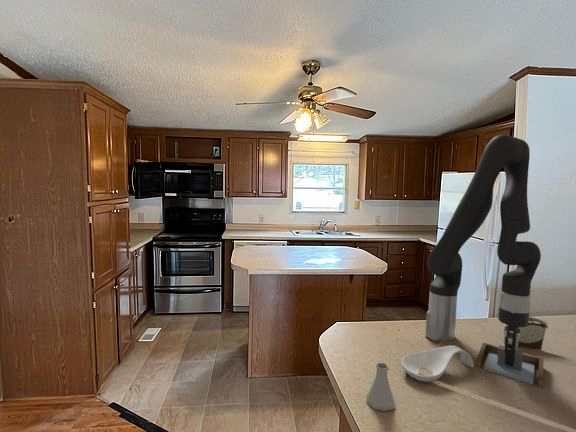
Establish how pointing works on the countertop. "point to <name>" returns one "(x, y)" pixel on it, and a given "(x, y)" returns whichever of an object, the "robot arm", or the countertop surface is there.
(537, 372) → the open-fronted box
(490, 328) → the countertop surface
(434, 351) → the spoon rest
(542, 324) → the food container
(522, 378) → the cover plate
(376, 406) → the flask
